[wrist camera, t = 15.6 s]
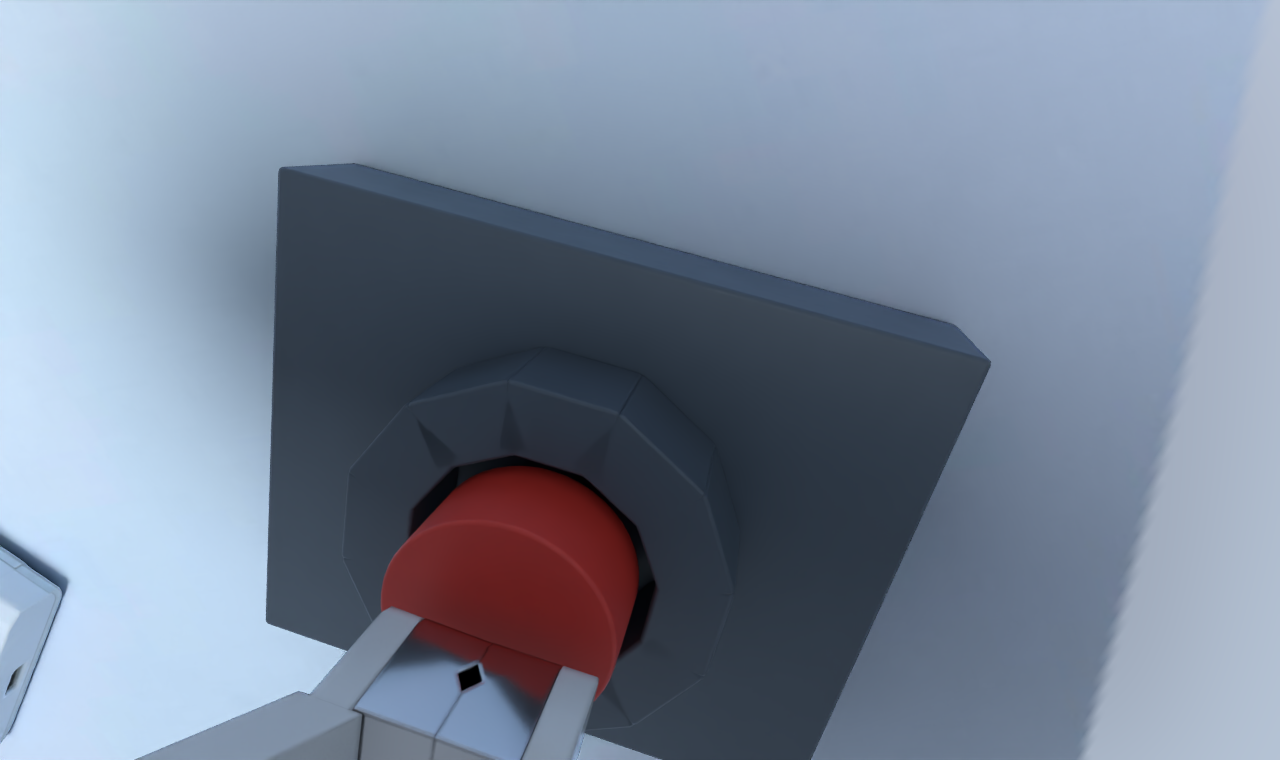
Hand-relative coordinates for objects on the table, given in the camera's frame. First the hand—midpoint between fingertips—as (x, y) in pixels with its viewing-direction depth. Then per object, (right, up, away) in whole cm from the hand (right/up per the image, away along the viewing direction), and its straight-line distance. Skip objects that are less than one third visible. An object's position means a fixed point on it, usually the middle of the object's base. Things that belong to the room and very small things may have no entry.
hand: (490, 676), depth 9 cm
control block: (+1, +2, +6) cm, 6 cm away
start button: (0, +1, +2) cm, 2 cm away
